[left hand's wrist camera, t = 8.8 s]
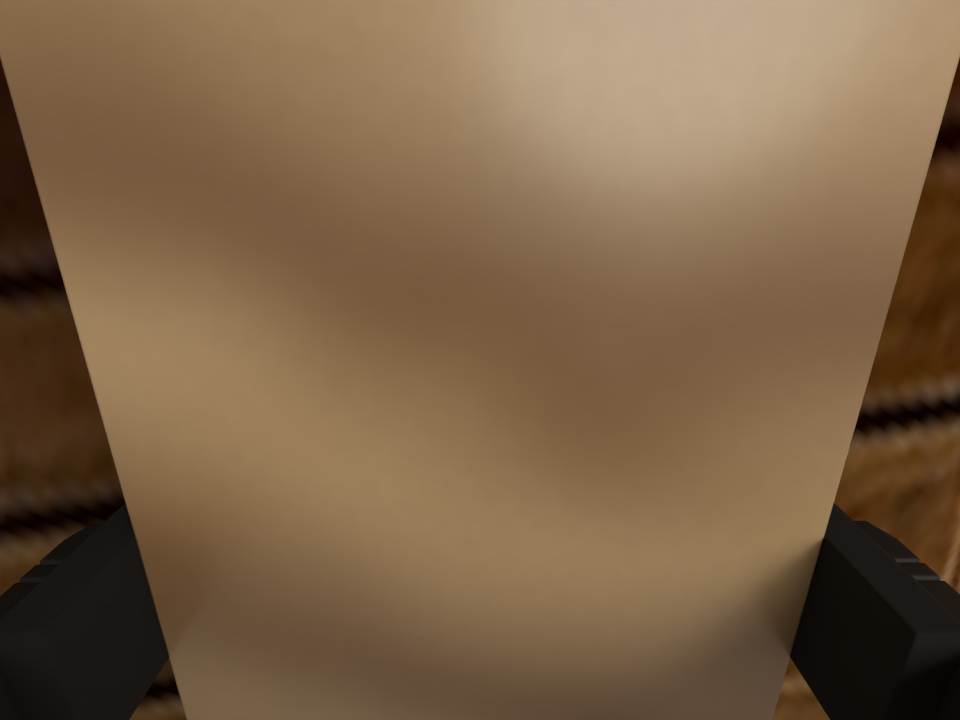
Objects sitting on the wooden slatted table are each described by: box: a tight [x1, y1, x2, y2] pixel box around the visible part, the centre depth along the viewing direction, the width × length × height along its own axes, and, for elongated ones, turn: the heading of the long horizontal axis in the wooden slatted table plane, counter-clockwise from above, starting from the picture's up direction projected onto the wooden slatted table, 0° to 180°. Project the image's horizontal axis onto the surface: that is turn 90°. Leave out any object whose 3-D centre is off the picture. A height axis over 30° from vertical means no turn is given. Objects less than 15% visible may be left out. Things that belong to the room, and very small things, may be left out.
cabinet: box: [0, 0, 960, 720], centre depth 11 cm, size 20×11×8 cm, turn 0°
